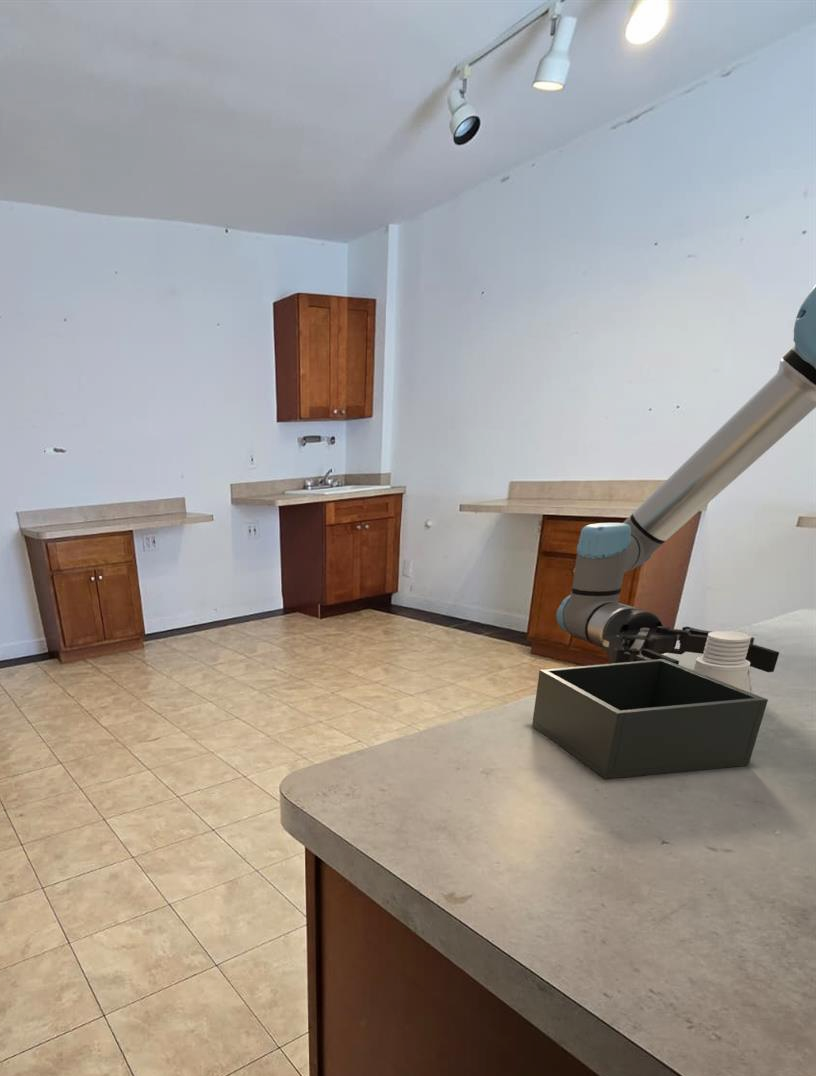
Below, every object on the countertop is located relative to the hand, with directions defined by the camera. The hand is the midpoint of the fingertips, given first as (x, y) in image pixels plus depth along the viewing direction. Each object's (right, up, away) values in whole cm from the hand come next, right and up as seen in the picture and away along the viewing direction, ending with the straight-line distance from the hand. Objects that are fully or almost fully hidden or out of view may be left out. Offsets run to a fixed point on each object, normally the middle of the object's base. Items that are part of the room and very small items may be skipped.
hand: (724, 666), depth 84 cm
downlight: (0, -5, +3) cm, 6 cm away
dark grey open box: (-16, -10, -6) cm, 20 cm away
